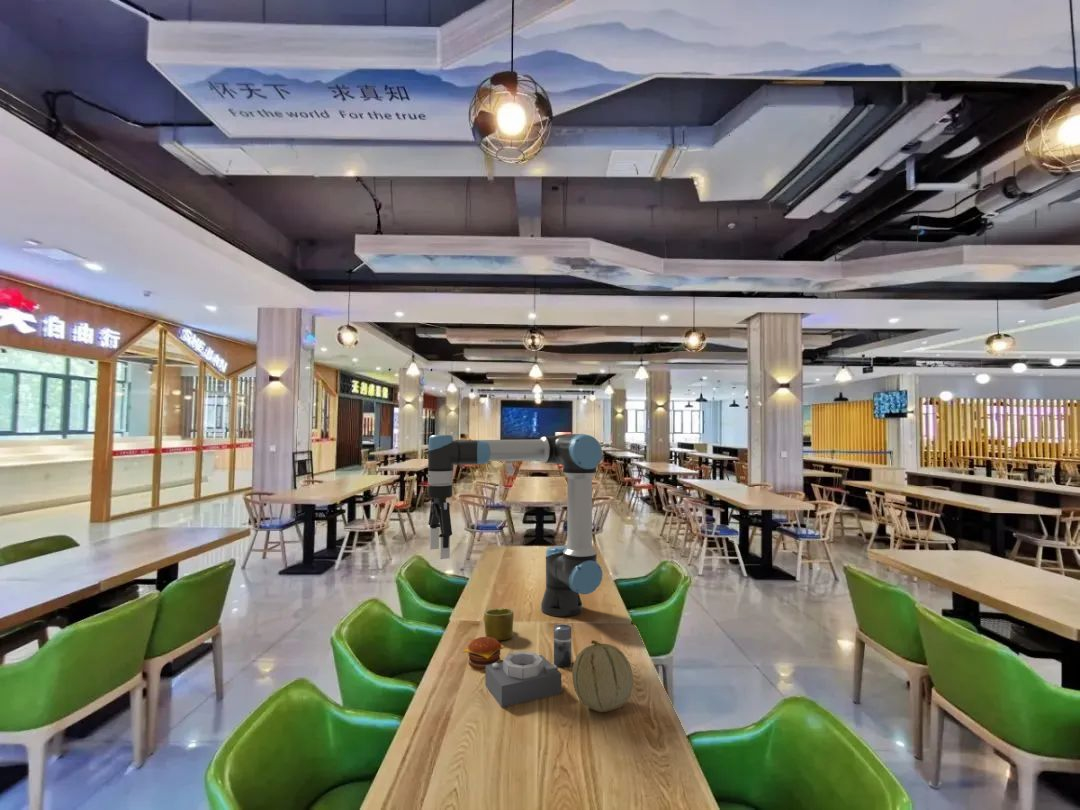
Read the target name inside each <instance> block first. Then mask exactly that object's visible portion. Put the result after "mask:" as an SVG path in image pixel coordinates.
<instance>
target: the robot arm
mask: <svg viewBox="0 0 1080 810" xmlns="http://www.w3.org/2000/svg"><path fill="white" fill-rule="evenodd" d="M427 445H428V446H427V447H428V448H427V451H428V452H427V455H428V456H427V467H428V468H427V469H428V471H427V474H425V475H426V478H427V483H428V486H427V497H428V498H430V510H429V517H428V523H427V524H428V525H429V550H440V551H439V559H440V560H447V559H450V558H451V557H450V555H451V554H450V552H451V549H450V548H451V541H450V540H451V536H452V535H453V531H452V530H453V528H452V521H451V520H452V519H451V512H450V509H451V508H450V505H451V504H450V502H447V498H452V497H453V485H452V483H453V466H454V465H455V466H459V465H465V466H466V465H467V466H469V465H478V466H479V465H486V464H488V463H489V462H517V461H518V462H521V461H524V462H525V461H540V462H541V463H543V464H555V465H556V464H557V465H561V466H562V474H564V476H565V477H566V478H567V481H566V484H567V488H566V489H567V500H566V501H567V502H566V503H567V504H566V505H567V510H566V511H567V513H566V515H567V522H566V523H567V524H566V525H567V528H566V530H567V531H566V532H567V535H566V536H567V541H566V542H567V543H566V544H567V545H556V546H550V547H548V548H547V549H546V551H545V590H544V594H543V597H542V599H541V605H540V606H541V607H540V610H541V612H542V613H544V614H546V615H548V616H552V617H573V616H577V615H579V614H581V613H582V611H583V602H582V599H581V595H589V594H591V593H594V592H595V591H596V590H597V589H598V588H599V587H600V585H601V583H602V580H603V574H604V573H603V569H602V567H601V565H600V564H599V563H598V562H597V550H596V549H594V548H593V477H594V476H595V475H597V467H598V466H599V464H600V462H601V461H602V458H603V449H602V445H601V444H600V442H599V441H598V439H596V438H595V437H594V436H592V435H589V434H585V433H575V434H574V433H565V434H564V433H563V434H558V435H553V436H551V435H550V436H542V437H540V438H538V439H536V438H535V439H474V440H473V439H455V440H454V437H453V435H451V434H432V435H430V436H429V437H428V444H427ZM580 594H581V595H580Z"/></svg>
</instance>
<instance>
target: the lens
mask: <svg viewBox="0 0 1080 810" xmlns="http://www.w3.org/2000/svg"><path fill="white" fill-rule="evenodd" d="M572 640H573V639H572V627H571V626H570V625H569V624H557V625H554V627H553V664H555V665H556V666H557V667H558V668H561V669H564V668H569V667H571V666H572Z"/></svg>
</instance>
